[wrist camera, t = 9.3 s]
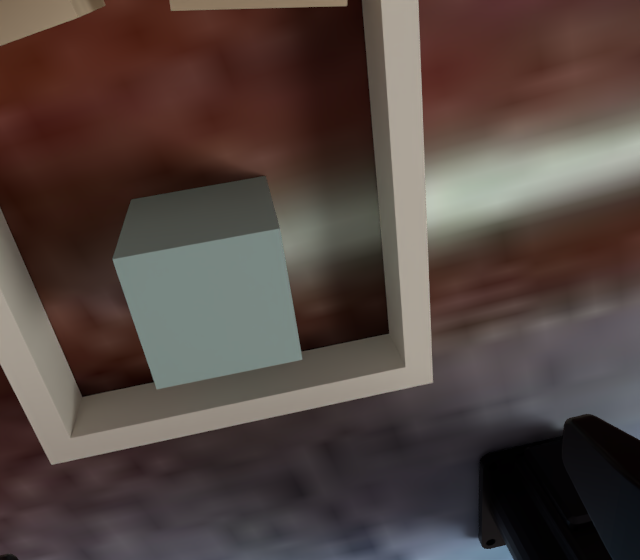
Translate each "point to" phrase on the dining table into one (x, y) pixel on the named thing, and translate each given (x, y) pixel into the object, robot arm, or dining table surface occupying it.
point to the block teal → (207, 282)
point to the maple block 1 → (39, 15)
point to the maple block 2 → (250, 4)
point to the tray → (274, 381)
